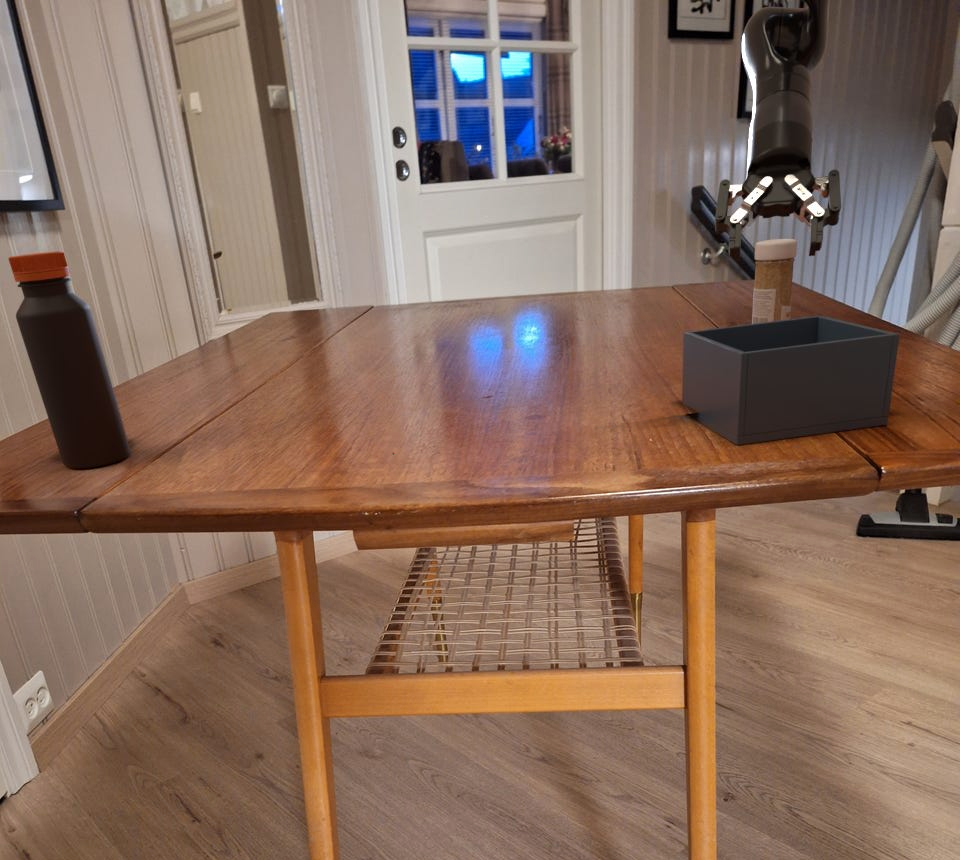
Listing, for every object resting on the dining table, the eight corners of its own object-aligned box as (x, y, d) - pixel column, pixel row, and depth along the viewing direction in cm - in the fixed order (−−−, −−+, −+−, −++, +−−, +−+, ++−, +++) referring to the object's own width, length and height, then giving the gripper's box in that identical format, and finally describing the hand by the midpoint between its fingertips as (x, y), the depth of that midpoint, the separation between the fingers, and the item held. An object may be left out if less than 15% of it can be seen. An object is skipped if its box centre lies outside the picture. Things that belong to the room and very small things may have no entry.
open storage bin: (813, 395, 89) (821, 315, 85) (887, 425, 77) (900, 333, 74) (681, 412, 88) (683, 331, 84) (736, 445, 76) (741, 353, 72)
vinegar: (75, 455, 94) (12, 255, 85) (138, 448, 94) (83, 248, 85) (54, 473, 88) (-15, 260, 79) (122, 465, 88) (60, 252, 79)
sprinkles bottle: (795, 361, 104) (805, 238, 98) (760, 366, 103) (767, 243, 97) (775, 355, 108) (784, 237, 102) (741, 360, 107) (748, 241, 101)
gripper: (720, 125, 106) (712, 235, 101) (845, 111, 102) (843, 226, 97) (720, 173, 113) (712, 278, 108) (837, 162, 109) (834, 271, 104)
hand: (774, 253), depth 103 cm, fingers open, 8 cm apart
